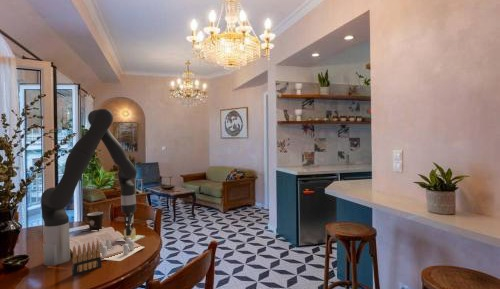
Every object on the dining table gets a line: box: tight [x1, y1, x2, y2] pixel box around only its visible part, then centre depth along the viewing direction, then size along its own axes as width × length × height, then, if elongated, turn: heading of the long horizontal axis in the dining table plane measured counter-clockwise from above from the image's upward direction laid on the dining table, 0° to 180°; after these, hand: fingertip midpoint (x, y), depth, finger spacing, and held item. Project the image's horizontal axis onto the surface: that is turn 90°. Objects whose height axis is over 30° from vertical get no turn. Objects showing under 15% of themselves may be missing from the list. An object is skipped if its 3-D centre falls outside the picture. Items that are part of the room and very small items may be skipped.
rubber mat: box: [121, 234, 146, 243], centre depth 166 cm, size 11×11×1 cm
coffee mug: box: [82, 211, 104, 231], centre depth 186 cm, size 12×9×10 cm
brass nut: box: [123, 227, 137, 240], centre depth 166 cm, size 6×5×5 cm
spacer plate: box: [99, 238, 145, 262], centre depth 147 cm, size 18×18×5 cm
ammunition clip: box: [71, 240, 103, 277], centre depth 127 cm, size 11×2×12 cm, turn 132°
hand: (129, 233), depth 166 cm, fingers open, 8 cm apart
